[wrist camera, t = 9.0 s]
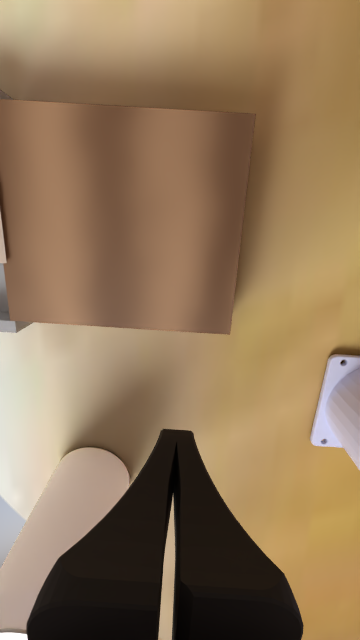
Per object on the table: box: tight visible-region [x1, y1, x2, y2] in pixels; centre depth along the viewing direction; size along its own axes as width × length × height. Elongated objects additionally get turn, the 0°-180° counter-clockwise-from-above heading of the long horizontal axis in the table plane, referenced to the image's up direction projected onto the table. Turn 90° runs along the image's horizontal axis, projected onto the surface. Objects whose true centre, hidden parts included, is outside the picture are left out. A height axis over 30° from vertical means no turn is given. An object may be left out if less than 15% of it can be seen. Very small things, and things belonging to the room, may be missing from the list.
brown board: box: [0, 99, 256, 335], centre depth 18 cm, size 14×12×3 cm
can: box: [0, 447, 129, 640], centre depth 20 cm, size 6×6×12 cm
